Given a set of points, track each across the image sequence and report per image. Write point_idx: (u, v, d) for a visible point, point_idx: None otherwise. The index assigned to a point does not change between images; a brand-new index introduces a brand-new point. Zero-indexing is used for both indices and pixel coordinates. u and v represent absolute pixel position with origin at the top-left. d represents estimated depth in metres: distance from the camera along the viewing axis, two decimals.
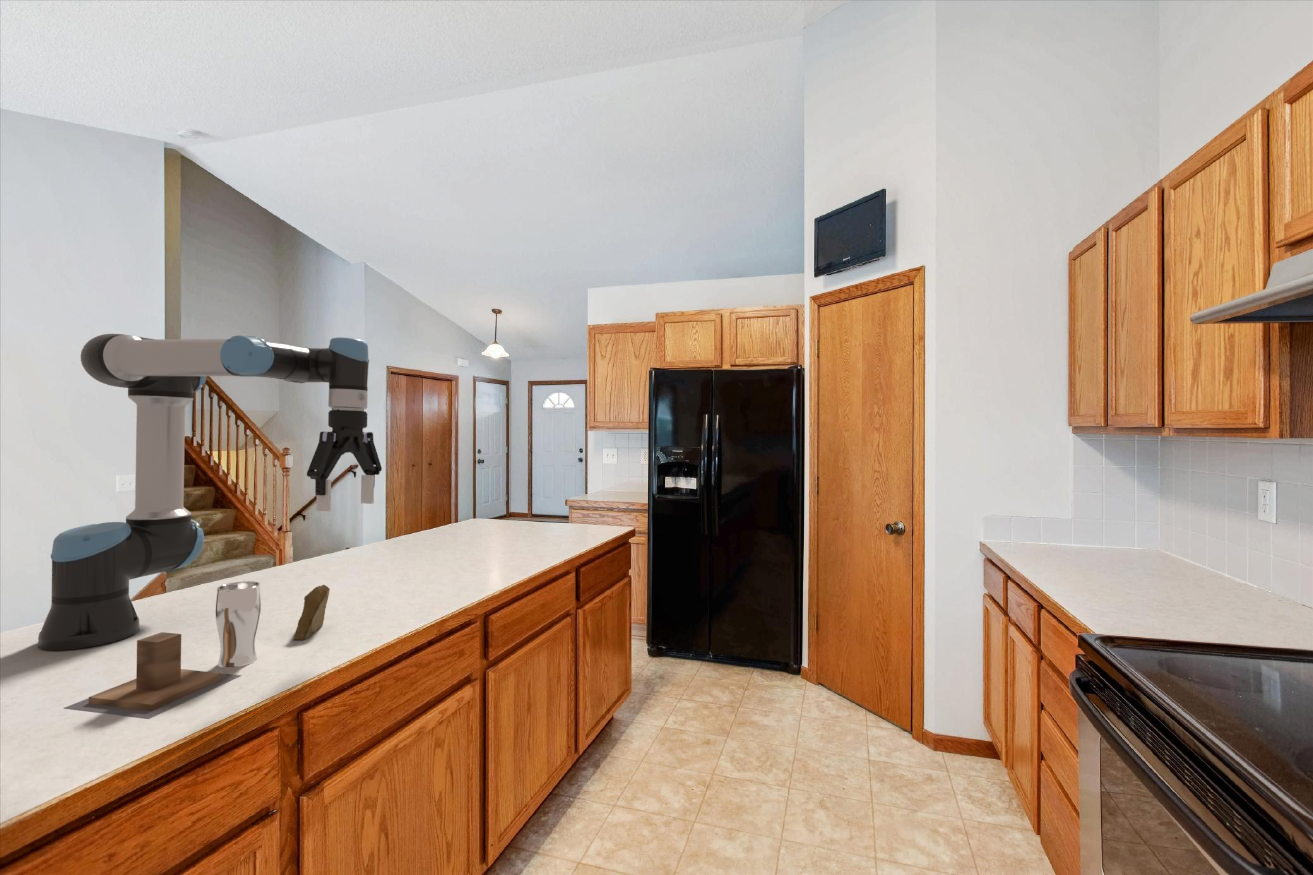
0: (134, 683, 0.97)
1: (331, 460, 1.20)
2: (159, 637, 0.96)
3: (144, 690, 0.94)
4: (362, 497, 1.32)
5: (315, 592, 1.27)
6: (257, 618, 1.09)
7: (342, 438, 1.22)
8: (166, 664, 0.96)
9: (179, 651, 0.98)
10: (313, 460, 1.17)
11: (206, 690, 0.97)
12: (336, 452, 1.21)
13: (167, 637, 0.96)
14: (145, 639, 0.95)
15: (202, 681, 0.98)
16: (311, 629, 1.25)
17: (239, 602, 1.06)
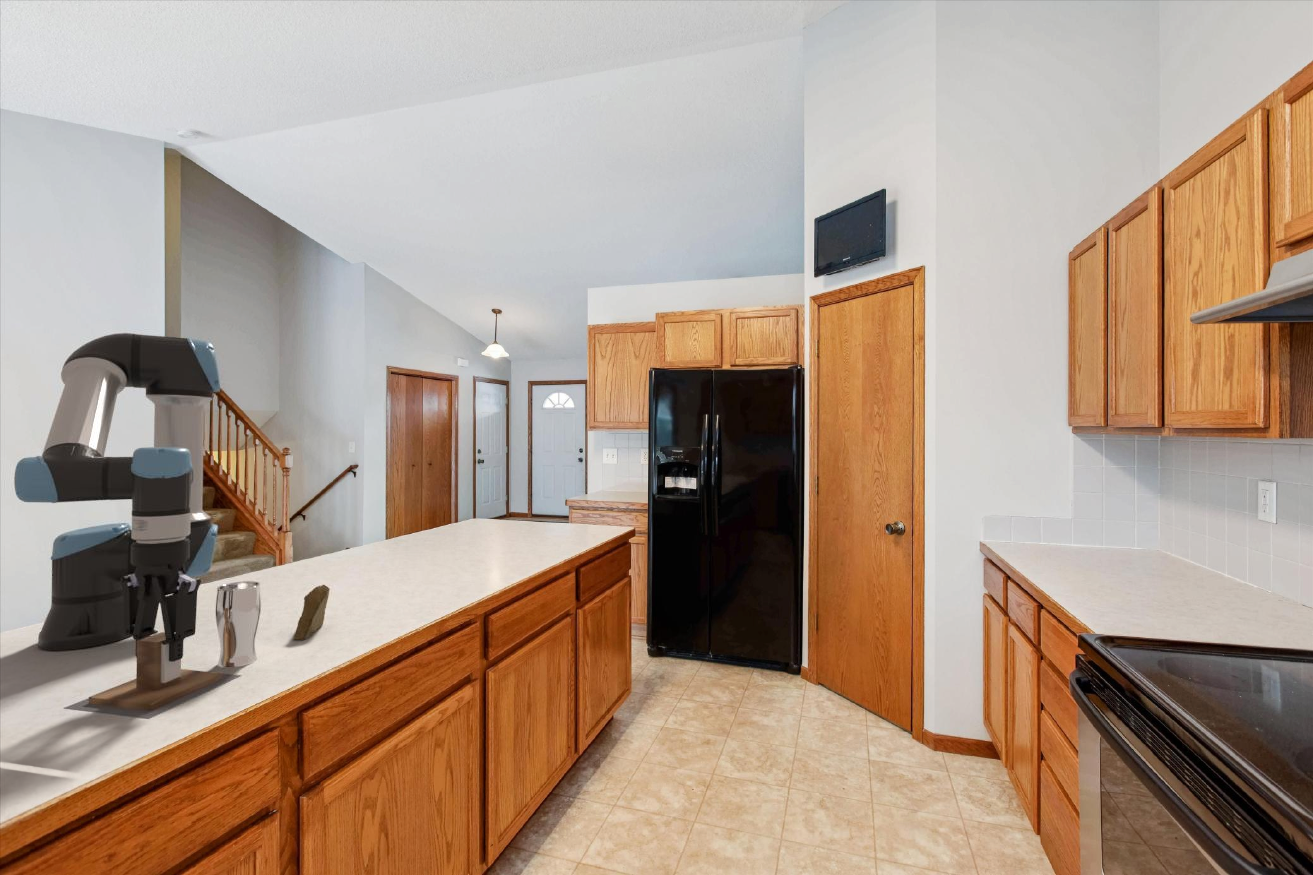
0: (134, 683, 0.97)
1: None
2: (159, 637, 0.96)
3: (144, 690, 0.94)
4: None
5: (315, 592, 1.27)
6: (257, 618, 1.09)
7: (139, 576, 0.96)
8: None
9: None
10: None
11: (206, 690, 0.97)
12: None
13: None
14: (145, 639, 0.95)
15: (202, 681, 0.98)
16: (311, 629, 1.25)
17: (239, 602, 1.06)
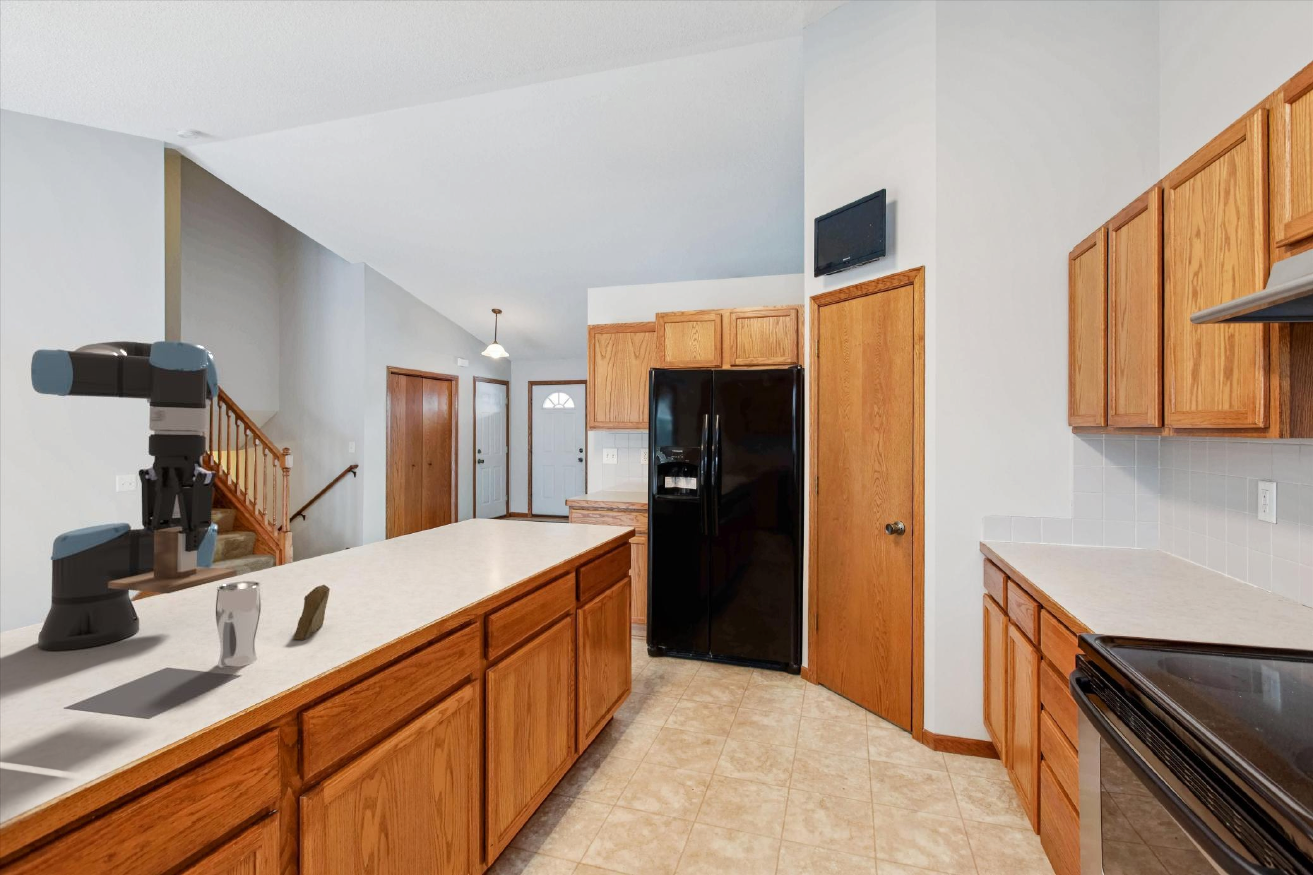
0: (151, 574, 0.99)
1: None
2: (176, 529, 0.98)
3: (161, 578, 0.96)
4: None
5: (315, 592, 1.27)
6: (257, 618, 1.09)
7: (157, 468, 0.98)
8: None
9: None
10: None
11: (206, 690, 0.97)
12: None
13: None
14: (162, 530, 0.97)
15: (217, 574, 1.00)
16: (311, 629, 1.25)
17: (239, 602, 1.06)
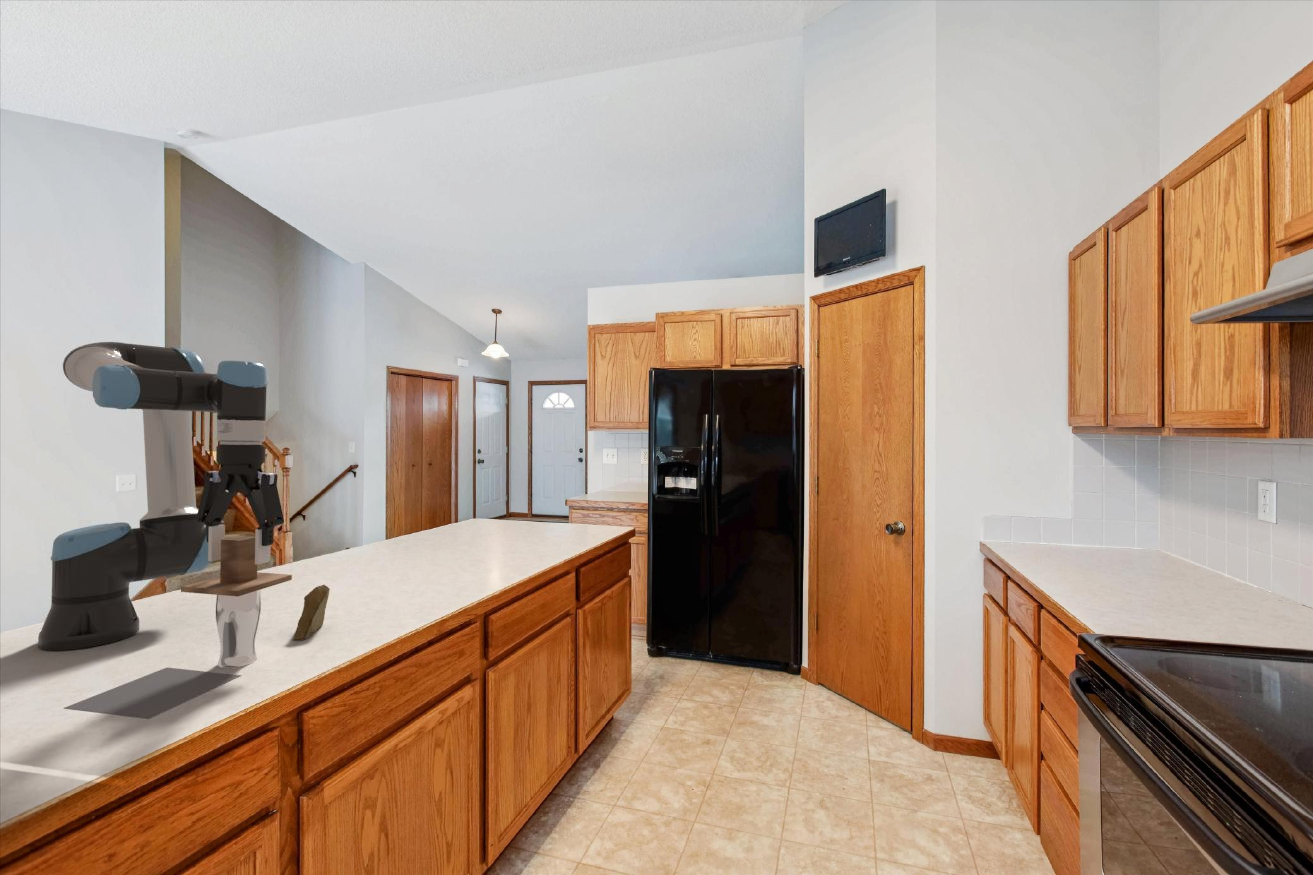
0: (217, 579, 1.09)
1: None
2: (239, 538, 1.08)
3: (227, 583, 1.07)
4: None
5: (315, 592, 1.27)
6: (257, 618, 1.09)
7: (222, 475, 1.08)
8: (246, 561, 1.08)
9: None
10: None
11: (206, 690, 0.97)
12: None
13: (247, 538, 1.09)
14: (228, 539, 1.08)
15: (276, 579, 1.10)
16: (311, 629, 1.25)
17: (239, 602, 1.06)
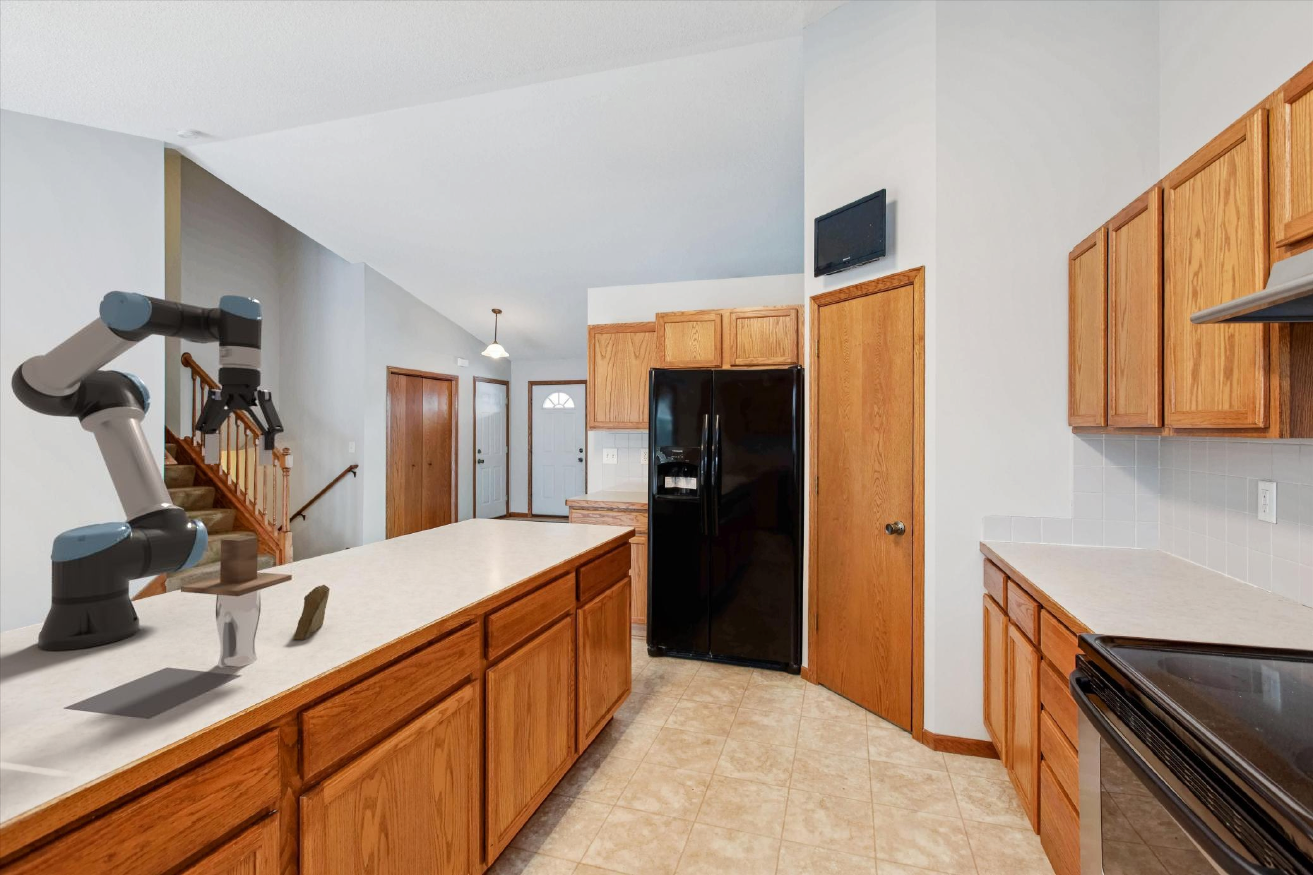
0: (216, 579, 1.09)
1: None
2: (239, 538, 1.08)
3: (227, 583, 1.07)
4: None
5: (315, 592, 1.27)
6: (257, 618, 1.09)
7: (223, 395, 1.26)
8: (246, 561, 1.08)
9: (256, 552, 1.10)
10: None
11: (206, 690, 0.97)
12: None
13: (247, 538, 1.09)
14: (228, 539, 1.08)
15: (276, 579, 1.10)
16: (311, 629, 1.25)
17: (239, 602, 1.06)
